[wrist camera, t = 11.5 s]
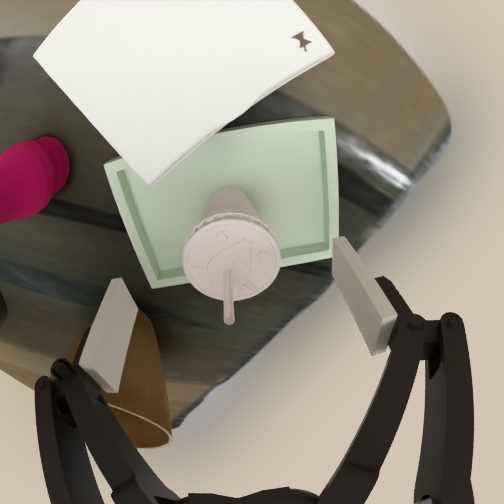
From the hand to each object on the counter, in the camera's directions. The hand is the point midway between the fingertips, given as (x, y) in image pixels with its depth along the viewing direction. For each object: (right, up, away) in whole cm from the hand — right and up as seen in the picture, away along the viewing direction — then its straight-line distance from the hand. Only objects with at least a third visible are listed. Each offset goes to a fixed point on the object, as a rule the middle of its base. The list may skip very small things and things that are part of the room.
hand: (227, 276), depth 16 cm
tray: (-1, +6, +10) cm, 12 cm away
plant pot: (-15, -8, +18) cm, 25 cm away
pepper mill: (-20, +11, +5) cm, 23 cm away
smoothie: (-1, +6, +9) cm, 11 cm away
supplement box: (-3, +17, +3) cm, 18 cm away
